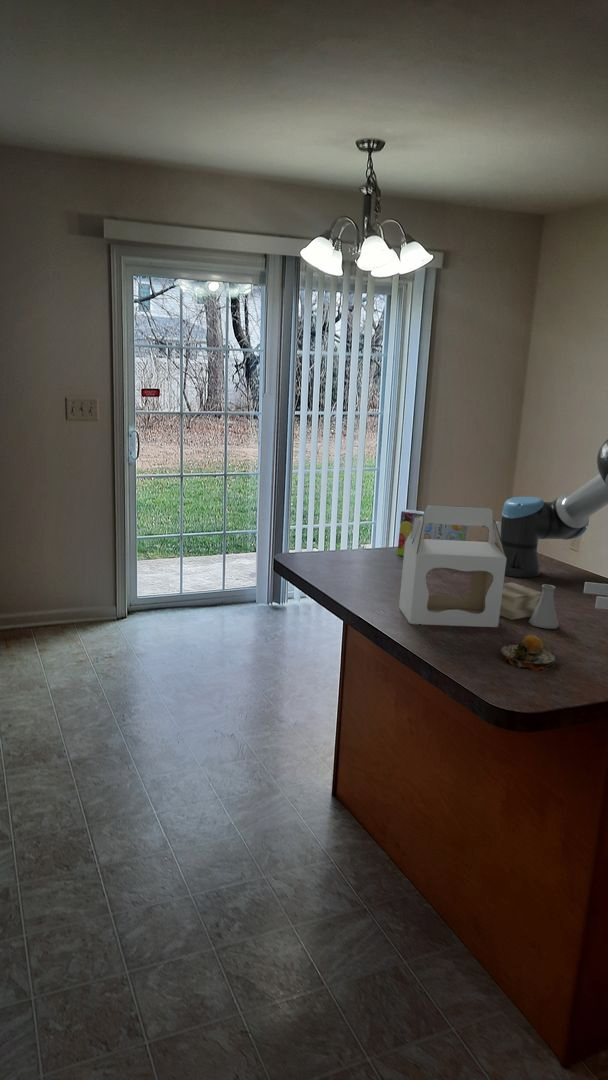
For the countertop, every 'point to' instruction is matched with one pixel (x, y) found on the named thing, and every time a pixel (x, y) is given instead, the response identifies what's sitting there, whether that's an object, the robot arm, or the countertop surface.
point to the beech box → (518, 601)
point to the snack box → (428, 530)
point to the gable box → (459, 556)
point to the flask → (545, 610)
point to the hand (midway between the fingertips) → (590, 594)
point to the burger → (528, 654)
